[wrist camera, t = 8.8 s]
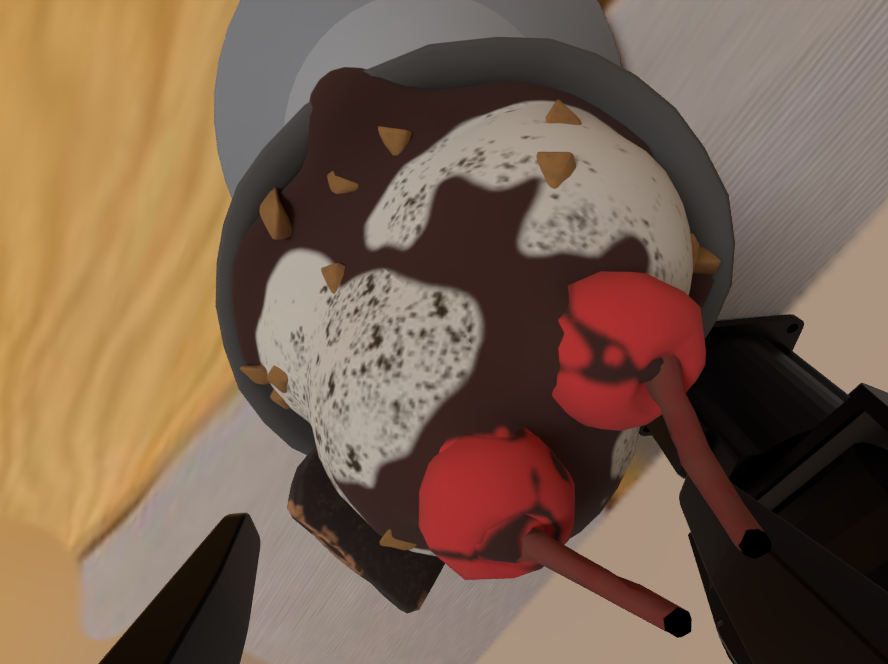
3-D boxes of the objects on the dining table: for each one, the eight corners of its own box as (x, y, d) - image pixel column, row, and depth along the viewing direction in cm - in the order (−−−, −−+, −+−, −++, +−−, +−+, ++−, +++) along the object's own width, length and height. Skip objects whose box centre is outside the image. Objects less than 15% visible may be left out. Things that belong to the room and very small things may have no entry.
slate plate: (650, -115, 12) (668, -126, 11) (589, 306, 19) (597, 317, 18) (151, -89, 11) (134, -98, 10) (282, 335, 18) (277, 348, 18)
